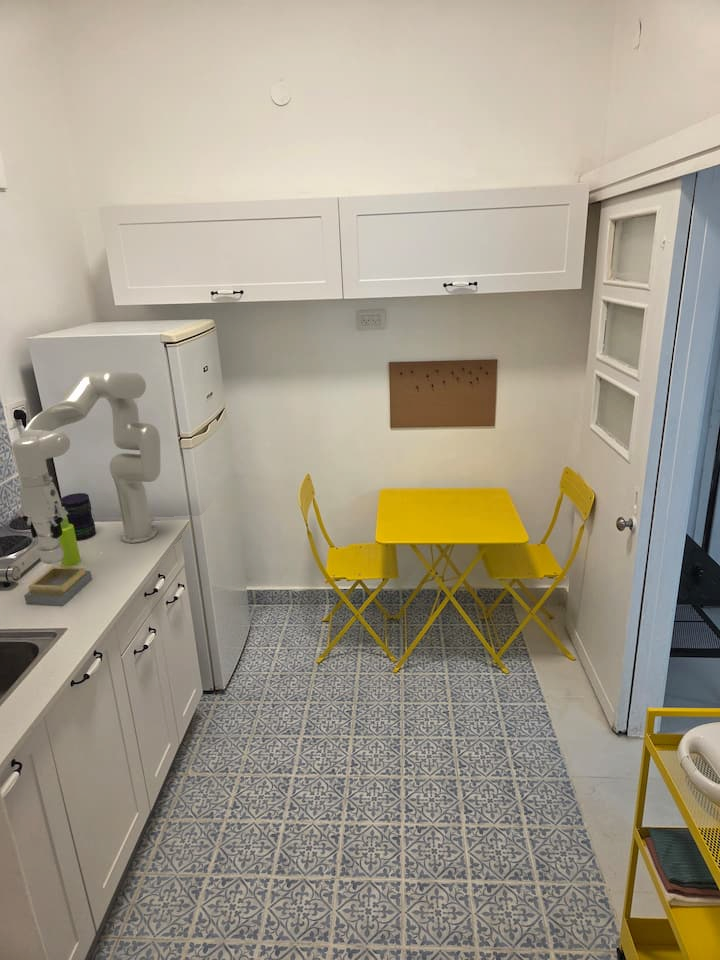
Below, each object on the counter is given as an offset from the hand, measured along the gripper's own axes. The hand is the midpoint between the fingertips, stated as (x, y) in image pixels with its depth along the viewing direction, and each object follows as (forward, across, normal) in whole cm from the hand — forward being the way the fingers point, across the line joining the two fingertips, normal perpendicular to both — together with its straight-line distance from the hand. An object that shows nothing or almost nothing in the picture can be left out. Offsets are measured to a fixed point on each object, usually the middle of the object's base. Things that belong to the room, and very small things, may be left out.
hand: (47, 535), depth 187 cm
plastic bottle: (+9, 0, 0) cm, 9 cm away
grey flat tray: (+19, 0, 0) cm, 19 cm away
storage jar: (+19, +16, -39) cm, 46 cm away
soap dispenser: (+19, +8, -18) cm, 28 cm away
